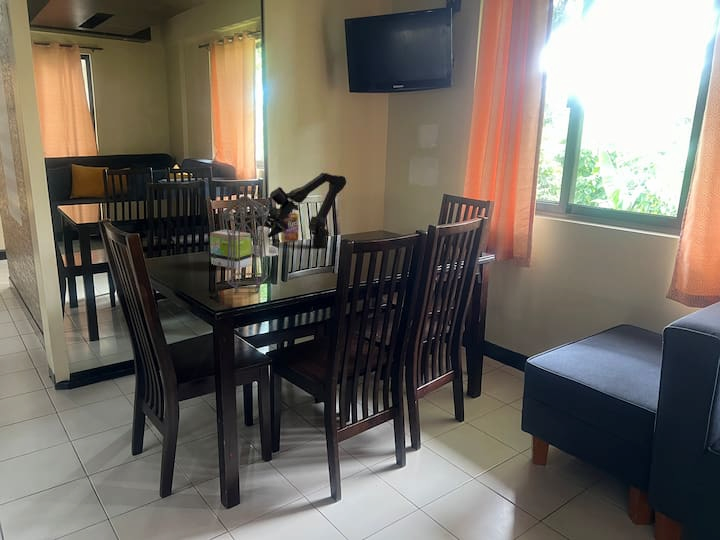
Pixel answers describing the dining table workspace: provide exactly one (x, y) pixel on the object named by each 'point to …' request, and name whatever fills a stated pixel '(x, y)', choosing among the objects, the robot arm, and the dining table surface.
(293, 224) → the candy box
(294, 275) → the dining table surface
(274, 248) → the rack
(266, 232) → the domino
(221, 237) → the tea box
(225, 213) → the geometric lantern
